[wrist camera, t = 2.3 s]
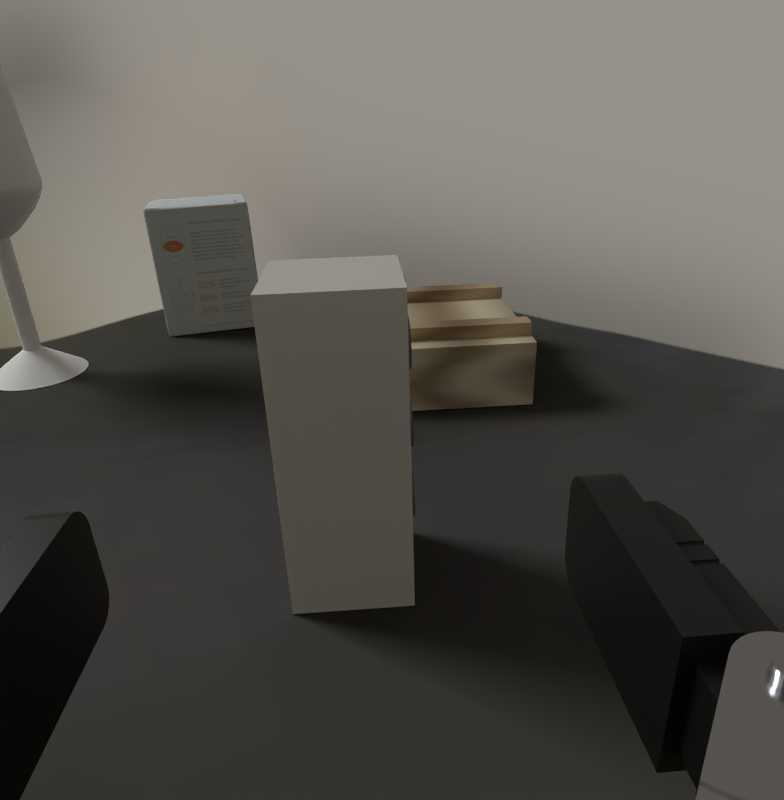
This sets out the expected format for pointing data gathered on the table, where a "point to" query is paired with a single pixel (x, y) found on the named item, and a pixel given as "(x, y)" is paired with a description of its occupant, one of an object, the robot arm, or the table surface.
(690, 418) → the table surface
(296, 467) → the tall grey box
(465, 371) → the brown wooden ridged block
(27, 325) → the champagne flute
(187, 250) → the small box
